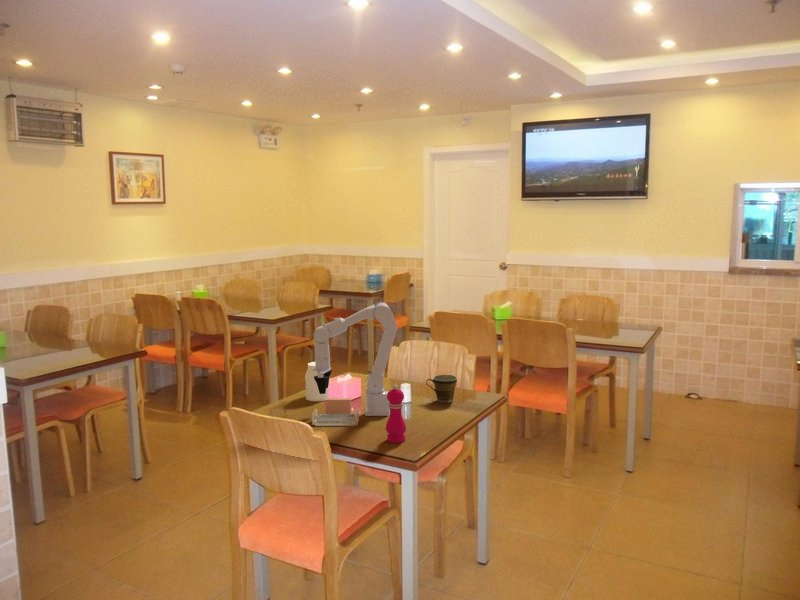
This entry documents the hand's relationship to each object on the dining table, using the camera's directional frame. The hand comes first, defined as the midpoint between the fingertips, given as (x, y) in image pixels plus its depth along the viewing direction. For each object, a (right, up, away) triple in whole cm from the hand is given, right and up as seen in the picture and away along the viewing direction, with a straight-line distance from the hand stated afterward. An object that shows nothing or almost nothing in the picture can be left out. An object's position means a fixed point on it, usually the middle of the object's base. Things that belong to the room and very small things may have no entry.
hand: (323, 390), depth 257 cm
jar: (-5, -7, +25) cm, 26 cm away
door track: (+6, -11, -8) cm, 15 cm away
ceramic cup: (+48, -7, +18) cm, 51 cm away
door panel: (+6, -10, 0) cm, 11 cm away
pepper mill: (+29, -14, -27) cm, 42 cm away
